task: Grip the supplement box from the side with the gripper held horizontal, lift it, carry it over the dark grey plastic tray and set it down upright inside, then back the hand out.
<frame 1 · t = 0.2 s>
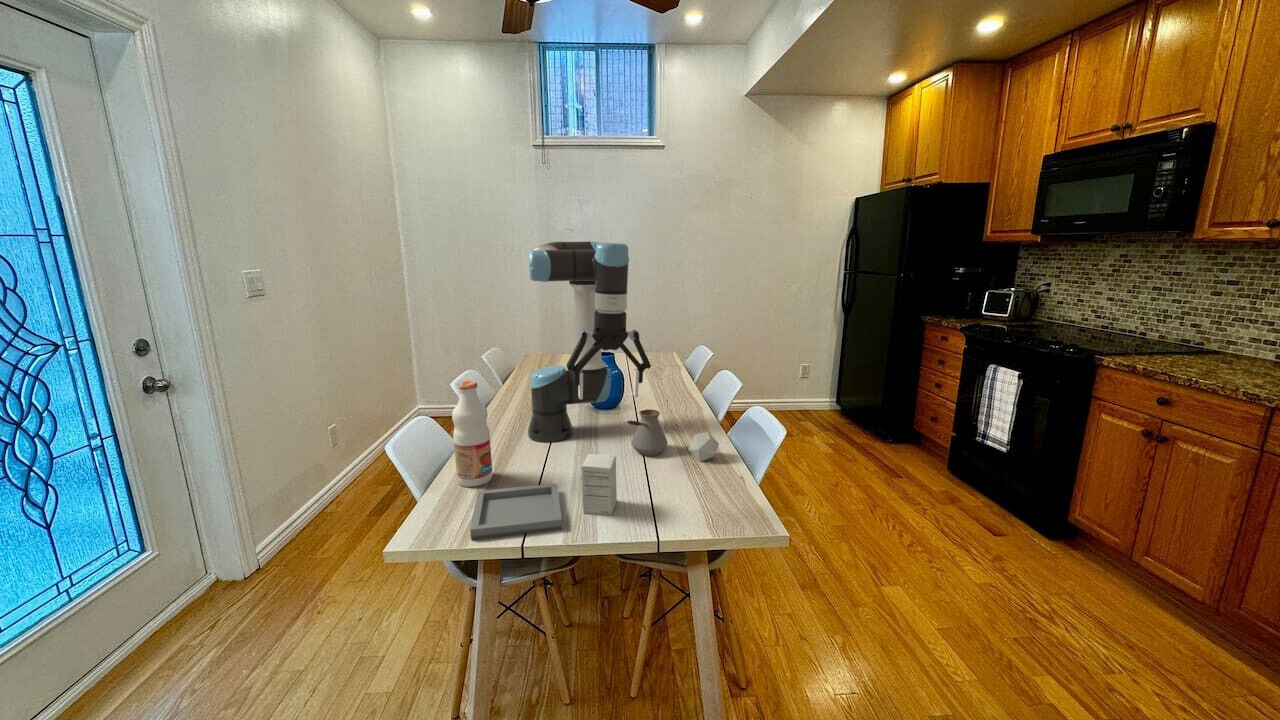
hand: (608, 396, 122), 28 cm above the table, tool pointing down, fingers open, 13 cm apart
coffee pot: (642, 457, 153), on the table
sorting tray: (518, 513, 121), on the table
die: (703, 458, 152), on the table
supplement box: (600, 507, 124), on the table
fruit juice: (475, 480, 138), on the table
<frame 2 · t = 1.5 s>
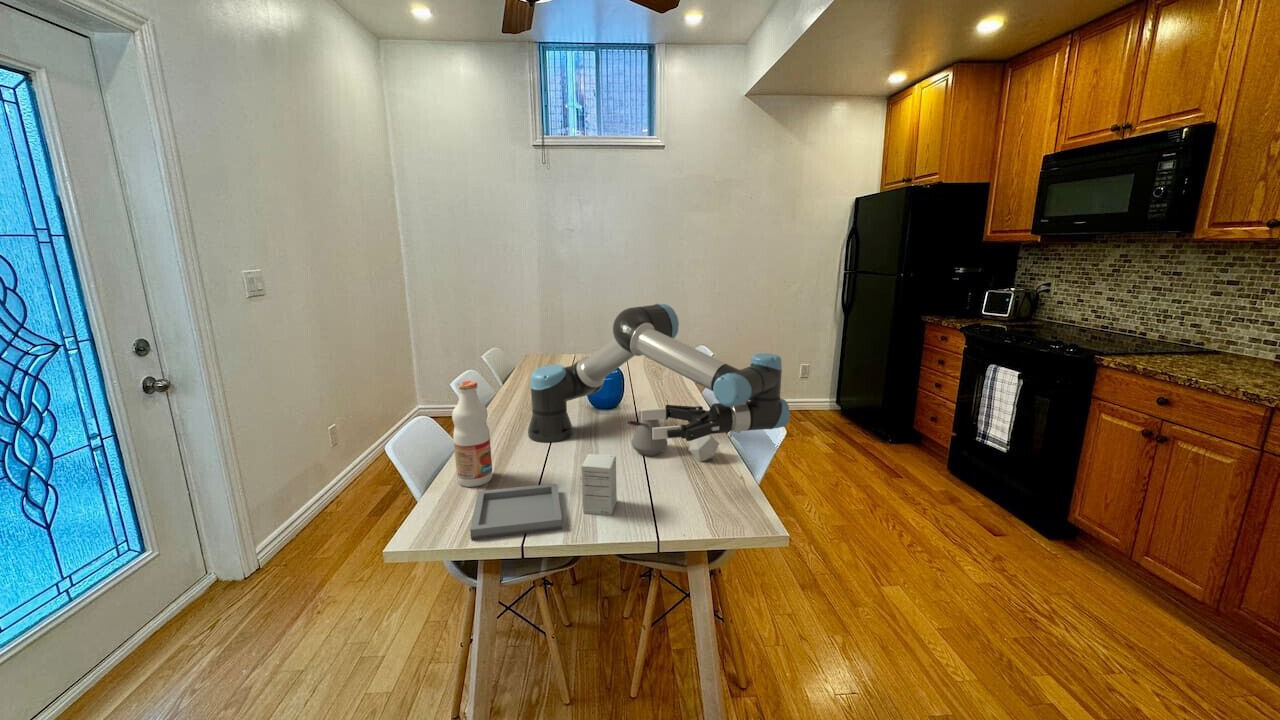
hand: (646, 424, 122), 21 cm above the table, tool horizontal, fingers open, 13 cm apart
nothing on the table moved.
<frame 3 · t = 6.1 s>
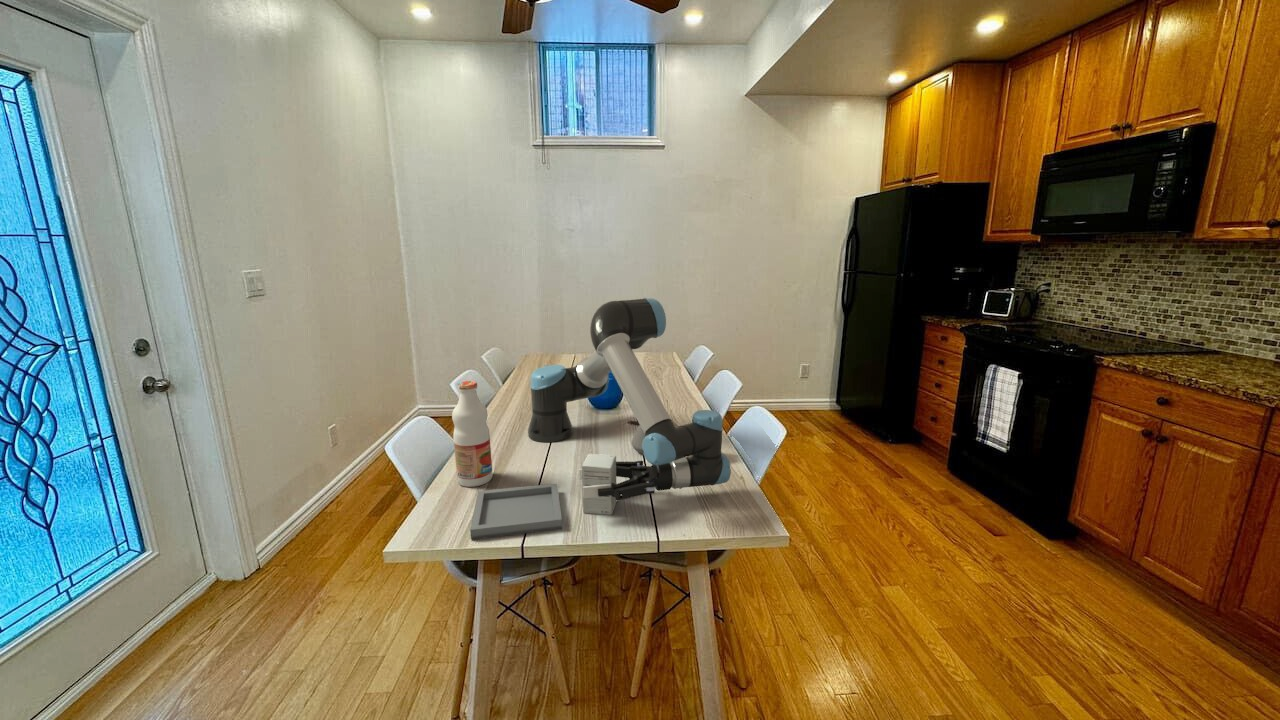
hand: (581, 482, 122), 7 cm above the table, tool horizontal, fingers closed on supplement box, 9 cm apart
supplement box: (600, 507, 124), on the table, touching gripper
everything else where it was.
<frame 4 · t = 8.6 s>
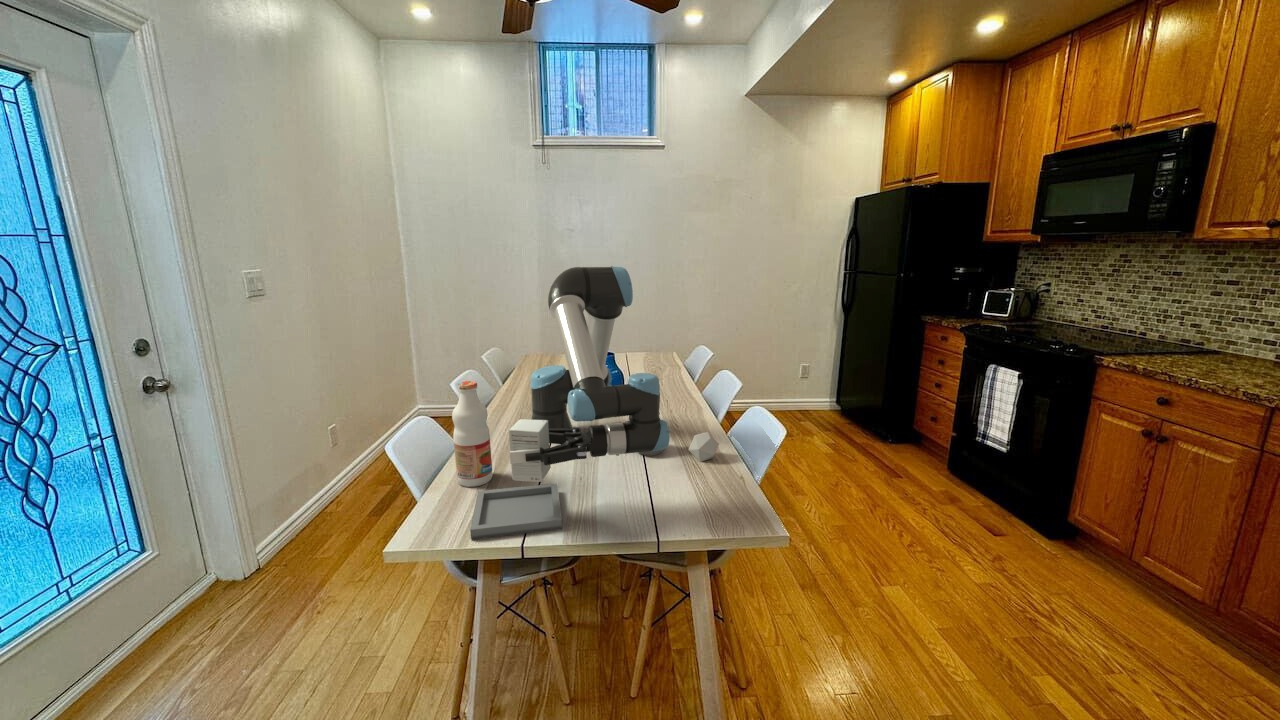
hand: (510, 448, 116), 18 cm above the table, tool horizontal, fingers closed on supplement box, 9 cm apart
supplement box: (531, 475, 118), point 10 cm above the table, touching gripper
everything else where it was.
when the fingers open (9 cm above the table, at t = 11.0 s): supplement box drops 1 cm, resting on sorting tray.
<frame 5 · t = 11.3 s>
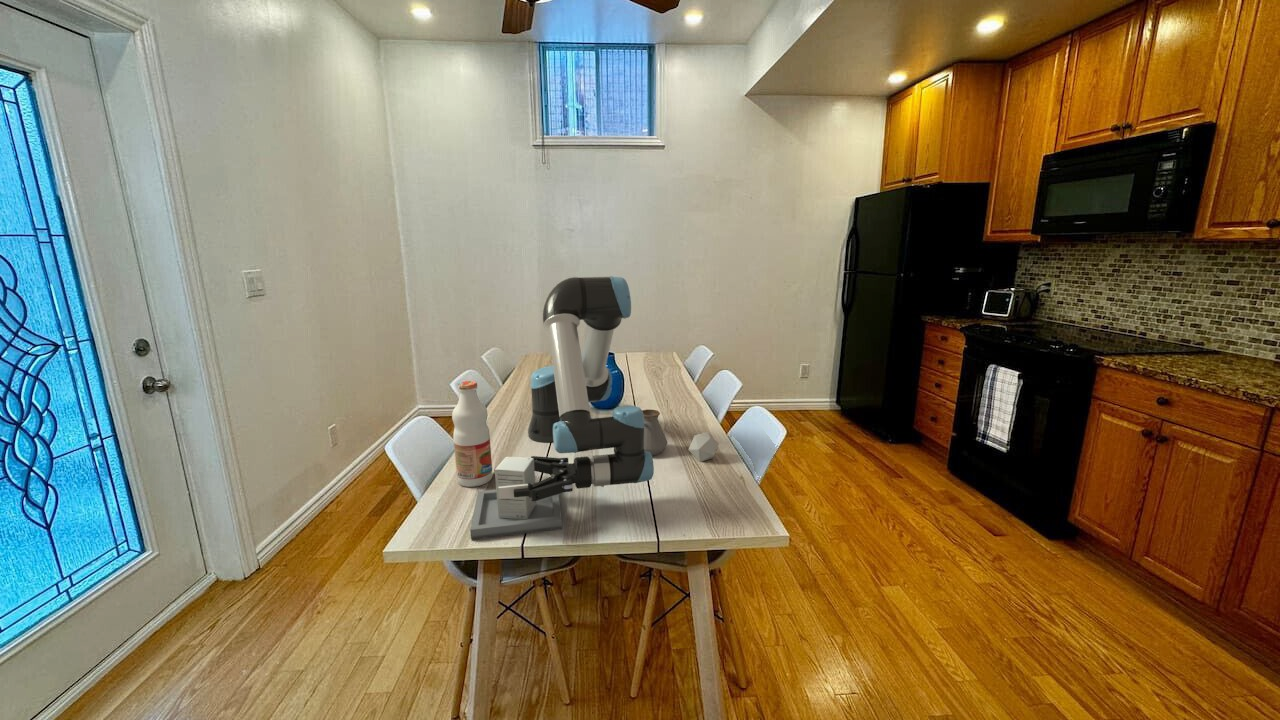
hand: (499, 480, 118), 9 cm above the table, tool horizontal, fingers open, 12 cm apart
supplement box: (517, 511, 121), point 1 cm above the table, touching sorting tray
everything else where it was.
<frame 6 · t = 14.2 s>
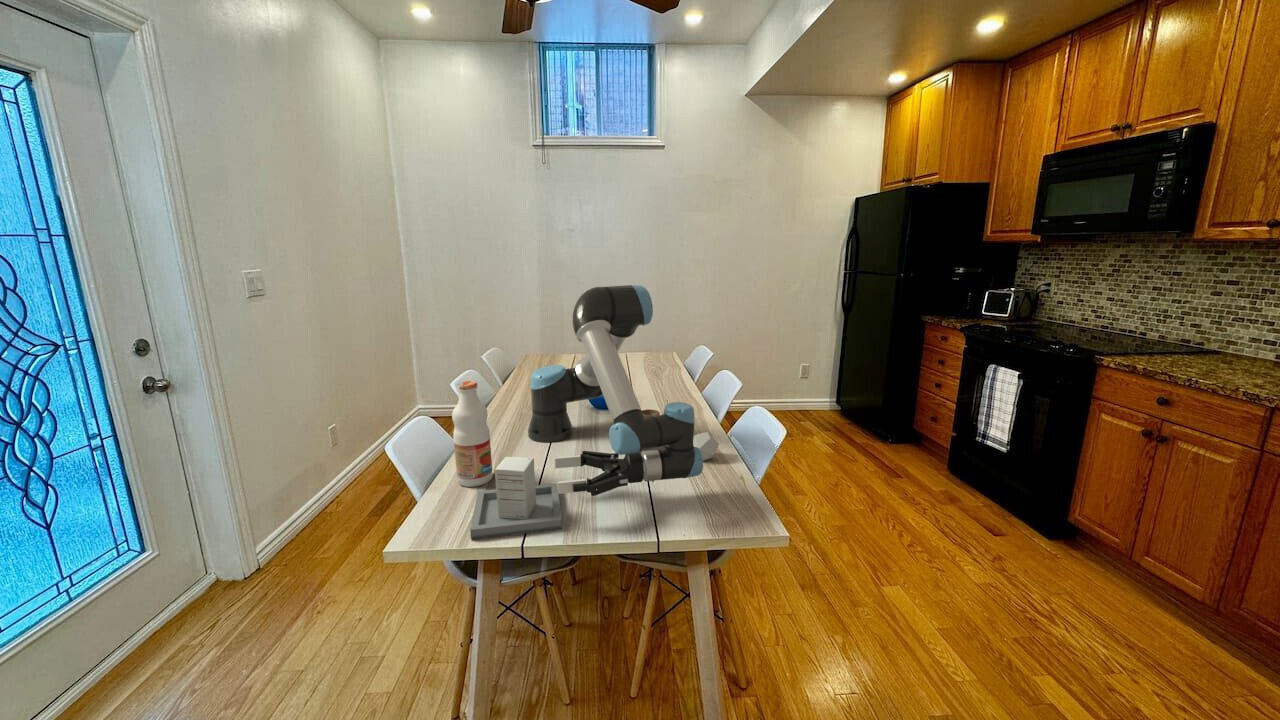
hand: (556, 474, 121), 9 cm above the table, tool horizontal, fingers open, 13 cm apart
nothing on the table moved.
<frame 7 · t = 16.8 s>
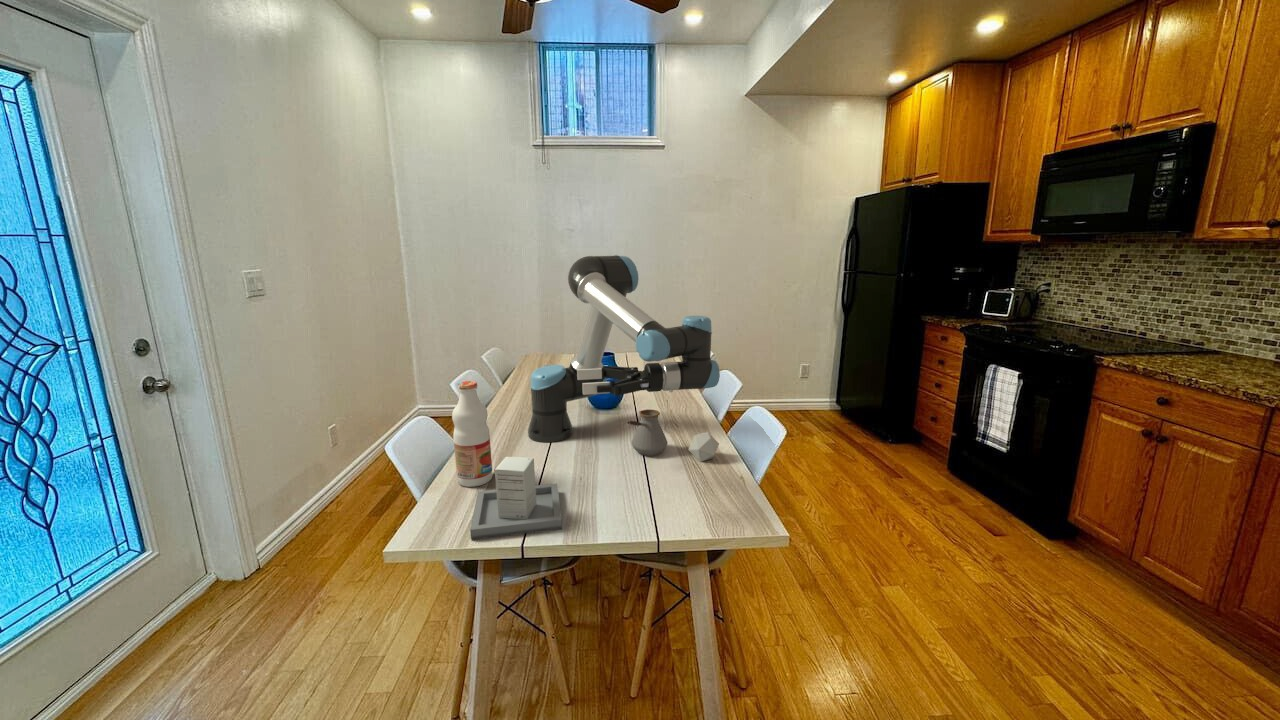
hand: (579, 381, 126), 30 cm above the table, tool horizontal, fingers open, 13 cm apart
nothing on the table moved.
at the end: supplement box inside the target area on the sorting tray (0.1 cm from its centre), point 0.6 cm above the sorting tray's base; supplement box tilted 0°; the gripper is holding nothing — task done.
